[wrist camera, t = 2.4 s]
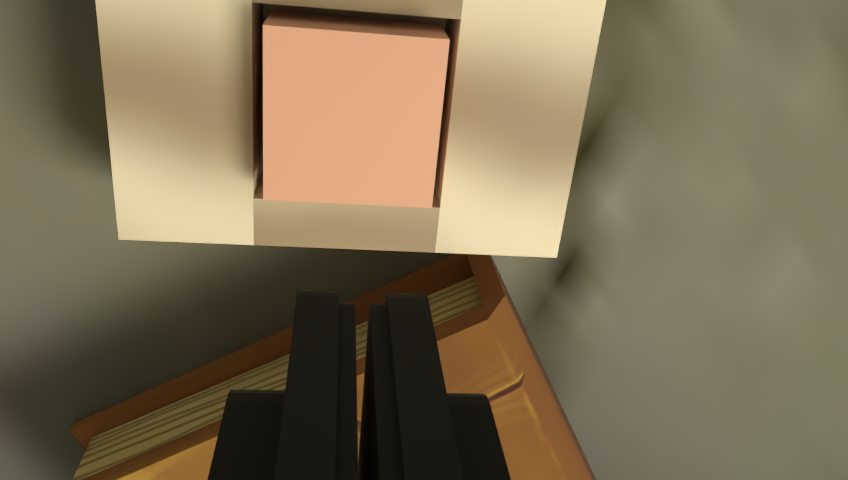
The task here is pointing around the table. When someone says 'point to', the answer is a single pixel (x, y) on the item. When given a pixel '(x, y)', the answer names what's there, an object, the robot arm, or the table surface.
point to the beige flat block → (333, 222)
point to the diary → (267, 370)
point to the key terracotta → (351, 109)
